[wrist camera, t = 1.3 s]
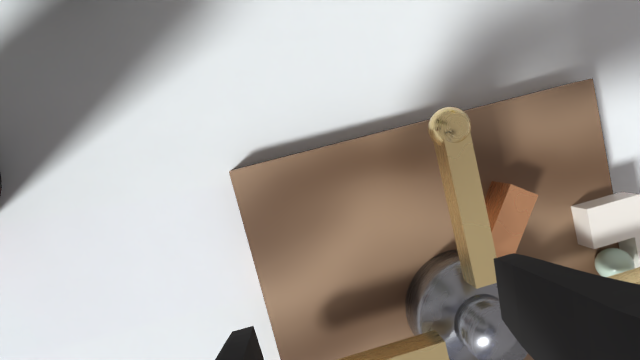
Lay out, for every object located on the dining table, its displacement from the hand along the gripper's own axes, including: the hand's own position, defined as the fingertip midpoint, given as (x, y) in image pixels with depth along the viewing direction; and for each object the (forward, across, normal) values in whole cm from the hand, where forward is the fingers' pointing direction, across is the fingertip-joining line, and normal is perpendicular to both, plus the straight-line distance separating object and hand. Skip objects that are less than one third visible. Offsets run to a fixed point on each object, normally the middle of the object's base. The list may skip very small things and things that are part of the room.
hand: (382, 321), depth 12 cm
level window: (+10, -15, +7) cm, 19 cm away
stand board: (+11, -6, +7) cm, 14 cm away
